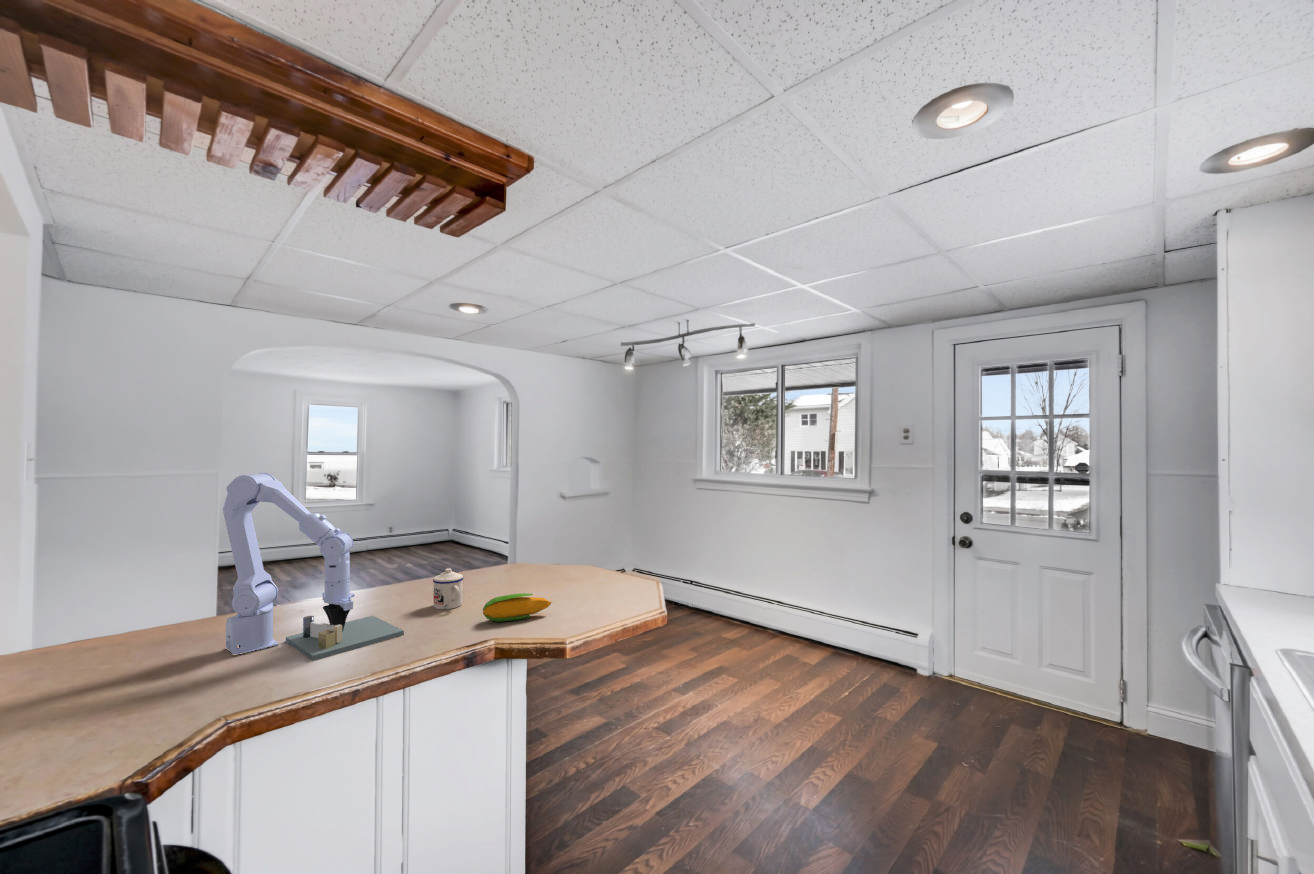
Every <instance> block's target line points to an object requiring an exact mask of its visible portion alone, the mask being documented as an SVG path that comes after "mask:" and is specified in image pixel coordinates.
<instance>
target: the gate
mask: <svg viewBox="0 0 1314 874" xmlns="http://www.w3.org/2000/svg"><path fill="white" fill-rule="evenodd" d="M326 630H331V631H334V632H335V642H336V643H338V642H341V641H342V625H336V626H335V625H330V623H325V622H321V621H316V620H314V622H311V623H310V636H311V637H315V638H318V635H319V633H320V632H323V631H326Z"/></svg>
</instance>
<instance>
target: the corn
mask: <svg viewBox="0 0 1314 874" xmlns="http://www.w3.org/2000/svg"><path fill="white" fill-rule="evenodd" d="M533 595H534V594H533V593H525V592H523V593H513V594H506V595H500V596H499V595H498V596H496V597H494V598H492V599H490V600H489V601H487V602H485V604H484V607H483V608H482V613H483V616H484V617H485V618H486V619H487V620H488V621H492V622H498V623H499V622H500V623H504V622H510V621H518V620H524V619H528V618H531V617H532V616H531V615H534V614H537V613H540V612H541V611H543V610H545V609H548V607H550V606H551V605H552V602H551V601H550V600H548V599H546V598H544V597H538V596H537V597H534V596H533ZM531 596H532V597H531Z"/></svg>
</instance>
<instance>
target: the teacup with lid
mask: <svg viewBox="0 0 1314 874" xmlns="http://www.w3.org/2000/svg"><path fill="white" fill-rule="evenodd" d="M463 580H464V576H463V574H461V573H457V572H455V571H452V568H445V569H444V572H441V573H440V574H439V575H436V576H434V577H433V579H432V582H433V608H434V609H436V610H453V609H456V608H459V607H461V606H462V605H463V603H464V601H463V593H464V592H463V590H464V589H463V583H464V582H463Z"/></svg>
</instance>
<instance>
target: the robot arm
mask: <svg viewBox="0 0 1314 874" xmlns="http://www.w3.org/2000/svg"><path fill="white" fill-rule="evenodd" d="M225 489H226V492H227V495H226V497H225V501H224V504H223V508H222V512H223V517H224V521H225V527H226V530H227V534H228V539H229V543H230V547H231V552H232V556H233V557H232V558H233V562H234V566H235V570H236V575H237V579H236V581H235V583H234V585H233V586H232V592H233V597H232V600H231V606H232V609H233V611H234V612H235V613H236V614H235V615H233V616H229V617H227V619H226V622H225V647H226V648H227V649H228V650H229V651H230V652H231V653H232V654H240V653H245V654H247V653H246V652H249V653H252V652H251V651H253V652H256V651H255V650H257V651H260V649H261V650H264V649H267V647H269V648H272V646H273V647H275V646H276V647H277V646H278V645H280V643H279V642H278V641H277V640H275V639H274V603H275V601H277V599H278V596H279V588H278V586H277V585H276V584H275V583H274V581H273V579H272V575H271V574H269V572H267V571H265V569H264V563H263V560H262V555H261V550H260V546H259V541H258V538H257V533H256V529H255V524H254V519H253V516H252V511H253V510H254V509H255V508H256V507H257V505H259V504H260V502H262V503H269V504H270V503H271V504H274V505H275V506H277V507H278V508H279V509H281V510H282V511H283V512H285V514H287V515H289V516H290V517H291V518H293V519H294V520H295V521H296V522H298V529H299V531H300V532H302V533H303V534H304V535H305V536H306V537H308V538H309V539H310V540H311V541H312V542H313V543H314V544H316V545H317V546H318V547H319V552H320V554H321V555H322V557H323V558H324V569H323V570H324V592H322V601H323V603H324V604H327V605H323V606H322V610H323V611H324V612H325V614H326V616H327V618H328V622H329V623H328V624H330V625H335V626H336V625H342V632H343V630H344V626H345V622H347V621H346V620H347V618H348V615H349V613H350V611H351V610H354V600H352V598H355V596H356V595H355V593H354V592H351V561H350V558H351V556H350V554H351V553H350V551H351V550H352V548H353V546H354V540H353V537H352V536H351V534H350V533H349V532H347V531H341V529H340V528H339V527H335V526H334V525H333V524H332V523H331V522H330V521H328V517H327V516H326V515H325V514H320V512H319V513H318V512H315V513H313V512H310V511H309V510H308V509H307V508H306V507H305V506H304V505H303V504H302V503H301V502H300V501H299V500H297V498H296V497H295V496H294V495H293V494H292V493H291V492H289V490H288V489H287V488H285V486H284V485H283V482H281V480H278V479H276V477H274V475H272V474H270V473H267V472H259V473H256V474H241V475H238V476H236V477H235V478H234V479H233V480H232V481H230V483H229V484H228V485H227V486H226V488H225ZM237 645H239V648H237ZM230 652H229V653H230ZM231 653H230V654H231ZM232 654H231V655H232Z"/></svg>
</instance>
